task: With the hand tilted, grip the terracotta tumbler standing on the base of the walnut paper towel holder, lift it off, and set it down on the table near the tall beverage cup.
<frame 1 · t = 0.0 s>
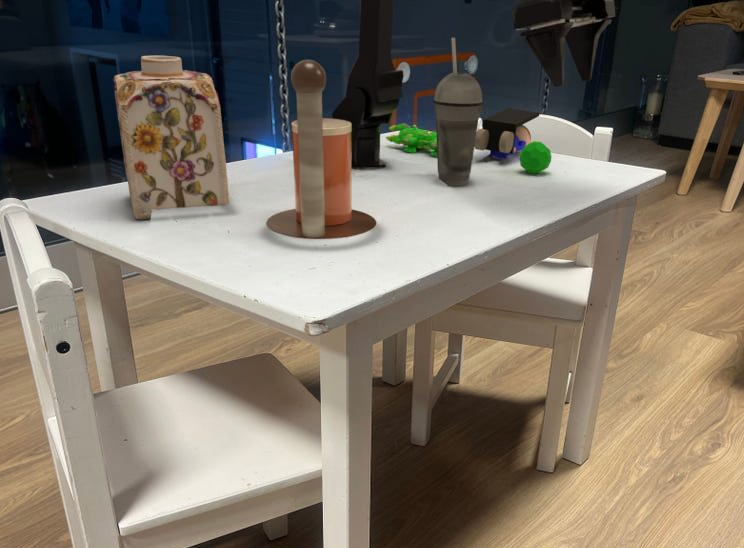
hand: (573, 83, 94), 15 cm above the table, tool pointing down, fingers open, 9 cm apart
beverage cup: (453, 183, 109), on the table
polyhedron: (533, 174, 116), on the table
decorative jar: (178, 206, 94), on the table
crocodile figurine: (429, 153, 129), on the table
figurine character: (504, 158, 127), on the table
tumbler: (323, 218, 87), point 1 cm above the table, touching towel holder
towel holder: (321, 231, 86), on the table
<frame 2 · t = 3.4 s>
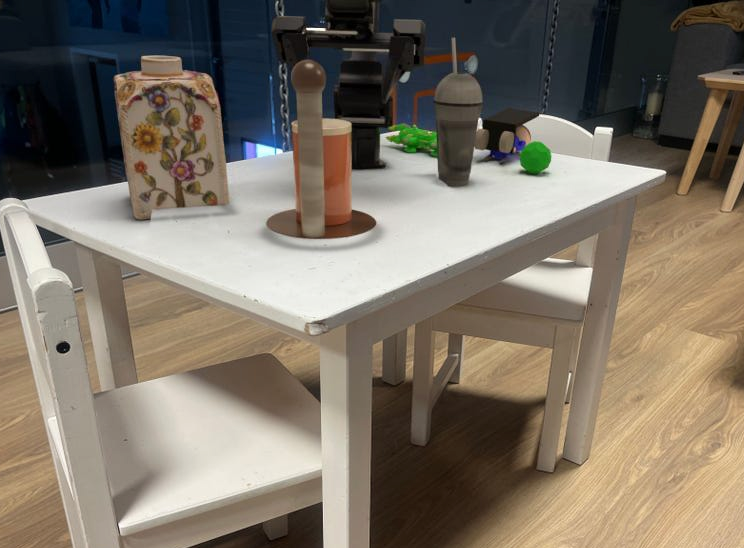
hand: (346, 100, 88), 14 cm above the table, tool tilted 45°, fingers open, 9 cm apart
nothing on the table moved.
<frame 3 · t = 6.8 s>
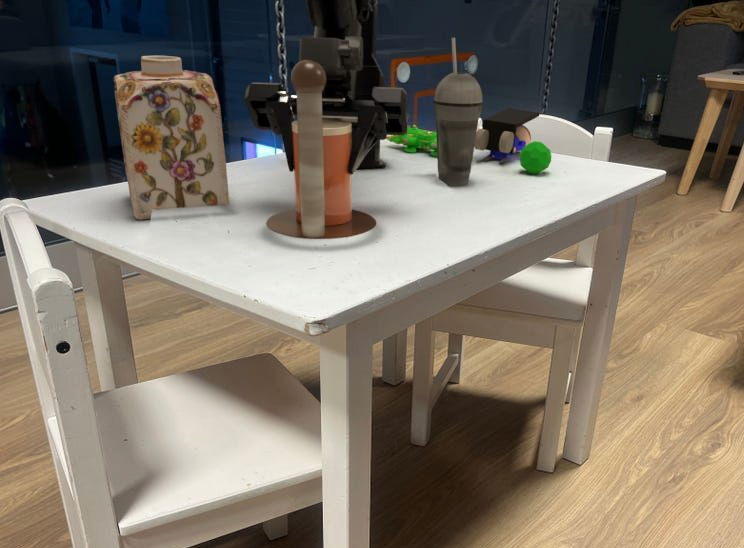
hand: (320, 171, 83), 7 cm above the table, tool tilted 45°, fingers closed on tumbler, 7 cm apart
tumbler: (324, 217, 87), point 1 cm above the table, touching gripper, towel holder
everything else where it was.
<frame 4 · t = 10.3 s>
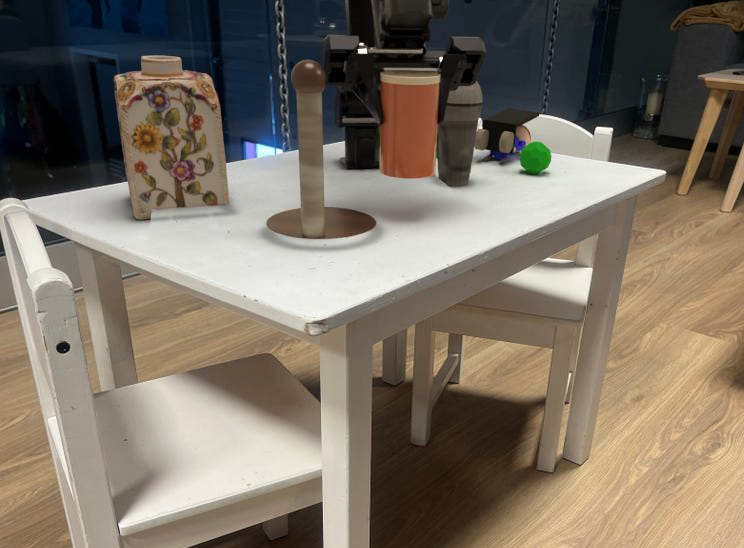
hand: (411, 122, 82), 12 cm above the table, tool tilted 45°, fingers closed on tumbler, 7 cm apart
tumbler: (407, 171, 86), point 7 cm above the table, touching gripper
everything else where it was.
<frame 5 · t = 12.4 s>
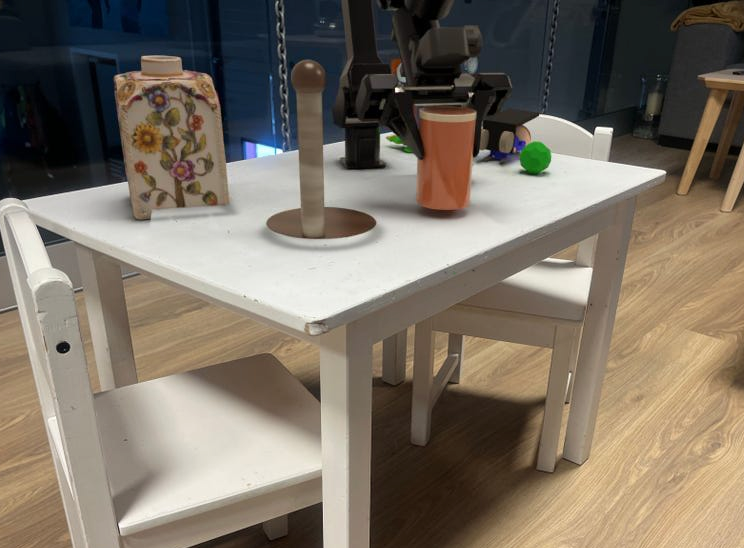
hand: (449, 156, 86), 8 cm above the table, tool tilted 45°, fingers closed on tumbler, 7 cm apart
tumbler: (442, 202, 90), point 2 cm above the table, touching gripper
everything else where it was.
when the fingers open (6 cm above the table, at t = 13.7 s): tumbler stays where it is, on the table.
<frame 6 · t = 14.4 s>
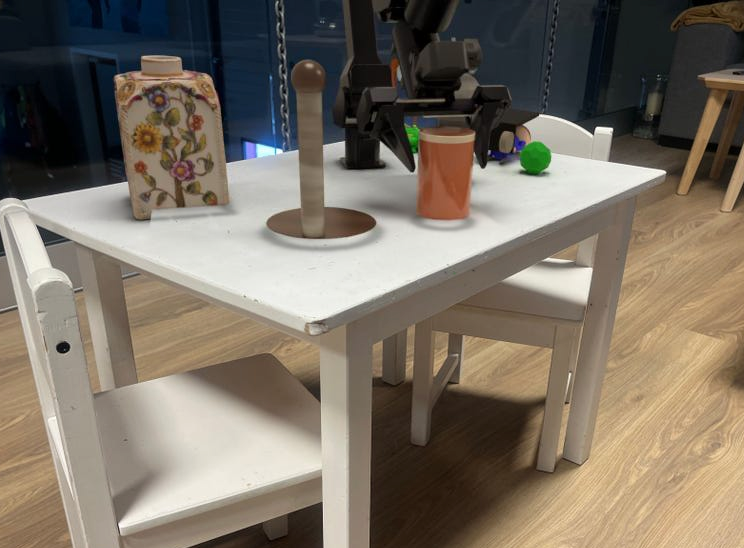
hand: (449, 168, 87), 7 cm above the table, tool tilted 45°, fingers open, 9 cm apart
tumbler: (442, 221, 91), on the table
everything else where it was.
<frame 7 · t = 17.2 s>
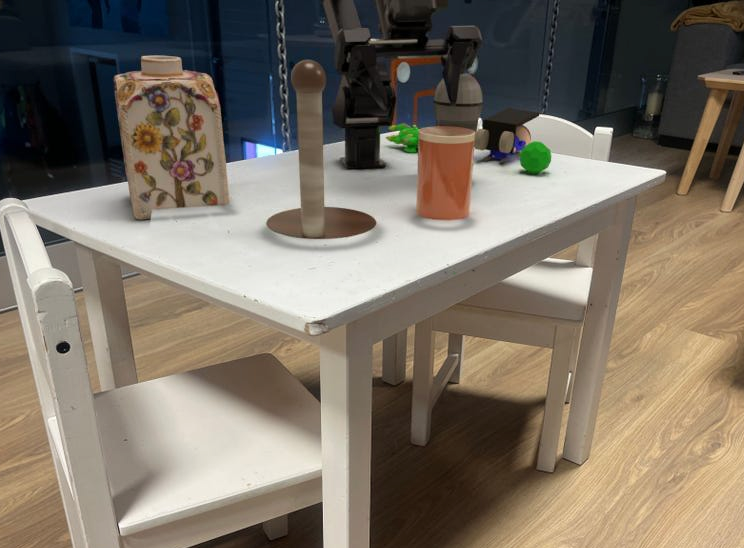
hand: (420, 105, 92), 13 cm above the table, tool tilted 45°, fingers open, 9 cm apart
nothing on the table moved.
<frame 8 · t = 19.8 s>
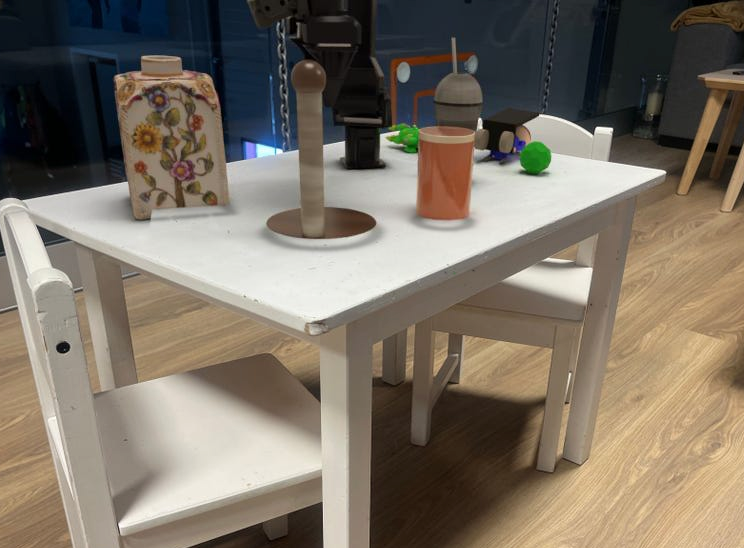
hand: (322, 101, 91), 13 cm above the table, tool pointing down, fingers open, 9 cm apart
nothing on the table moved.
at the end: tumbler 20.6 cm from the beverage cup (horizontally); tumbler on the table; tumbler tilted 0° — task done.
